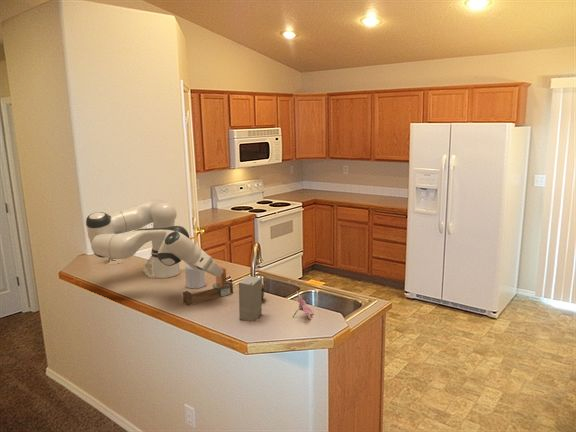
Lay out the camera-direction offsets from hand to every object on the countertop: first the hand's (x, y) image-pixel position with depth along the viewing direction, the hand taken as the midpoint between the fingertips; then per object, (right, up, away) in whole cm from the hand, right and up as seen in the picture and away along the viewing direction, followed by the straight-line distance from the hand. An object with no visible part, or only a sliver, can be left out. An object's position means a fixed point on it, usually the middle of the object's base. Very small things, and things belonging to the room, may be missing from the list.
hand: (217, 275), depth 208 cm
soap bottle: (-13, -7, +16) cm, 21 cm away
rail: (-4, -10, -1) cm, 11 cm away
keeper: (+1, -9, +3) cm, 9 cm away
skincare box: (+17, -14, -24) cm, 32 cm away
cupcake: (+17, -10, -6) cm, 21 cm away
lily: (+38, -14, -25) cm, 48 cm away
